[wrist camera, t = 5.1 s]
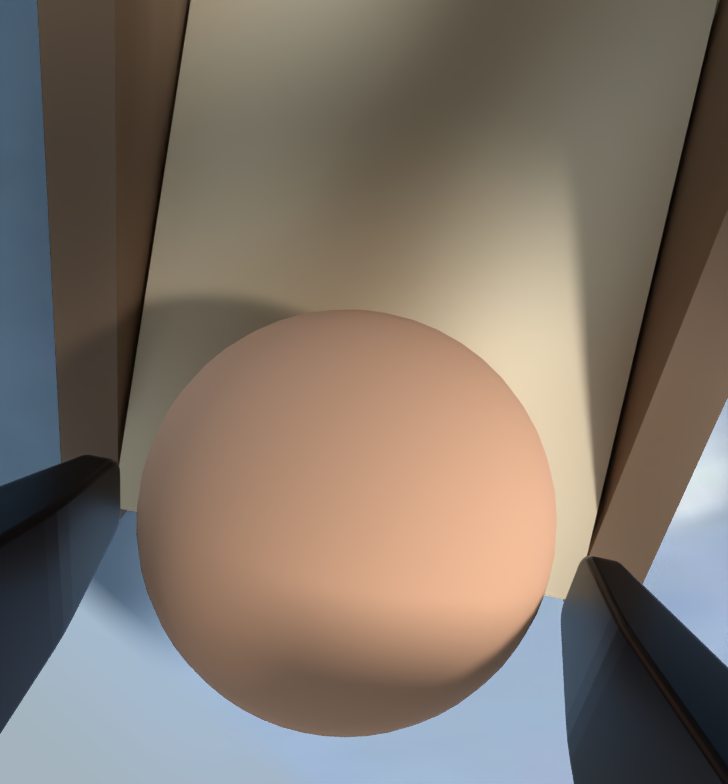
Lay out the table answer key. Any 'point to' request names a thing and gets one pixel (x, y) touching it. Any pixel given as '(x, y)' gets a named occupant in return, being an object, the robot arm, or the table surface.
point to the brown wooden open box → (403, 215)
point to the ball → (346, 523)
